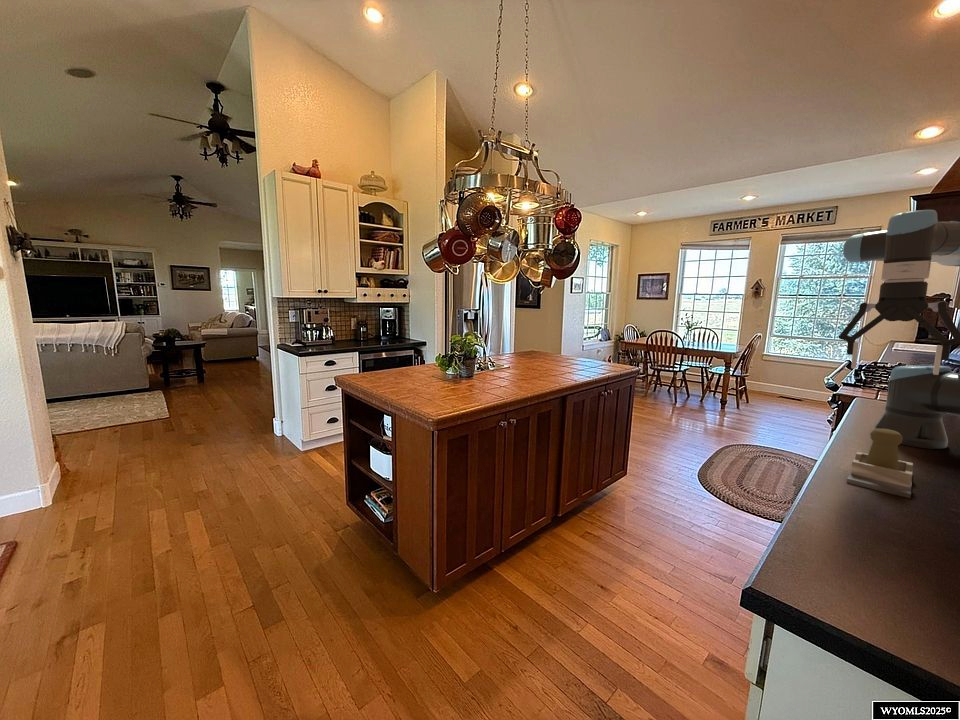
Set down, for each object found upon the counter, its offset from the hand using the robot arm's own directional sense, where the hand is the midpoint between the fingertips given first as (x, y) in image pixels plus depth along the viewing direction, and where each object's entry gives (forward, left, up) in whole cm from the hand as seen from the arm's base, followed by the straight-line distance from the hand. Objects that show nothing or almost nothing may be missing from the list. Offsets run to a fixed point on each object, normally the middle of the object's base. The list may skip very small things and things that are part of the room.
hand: (892, 370), depth 93 cm
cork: (+5, +3, -25) cm, 25 cm away
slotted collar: (+5, +3, -25) cm, 26 cm away
